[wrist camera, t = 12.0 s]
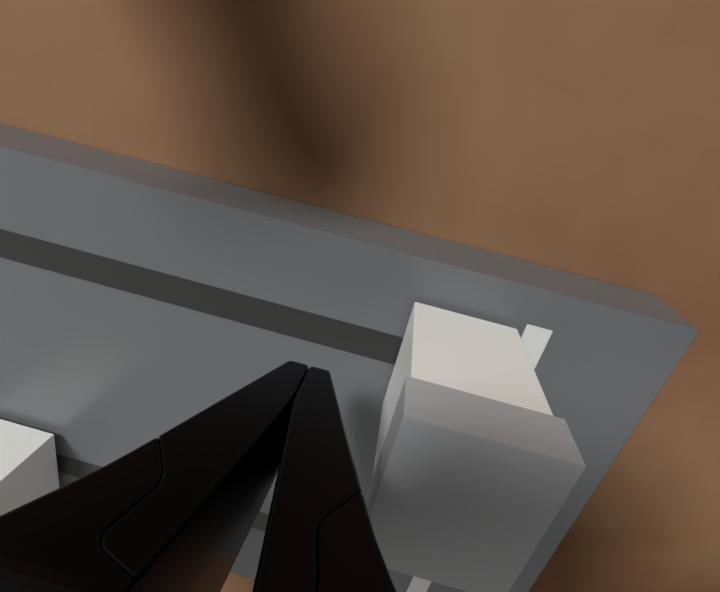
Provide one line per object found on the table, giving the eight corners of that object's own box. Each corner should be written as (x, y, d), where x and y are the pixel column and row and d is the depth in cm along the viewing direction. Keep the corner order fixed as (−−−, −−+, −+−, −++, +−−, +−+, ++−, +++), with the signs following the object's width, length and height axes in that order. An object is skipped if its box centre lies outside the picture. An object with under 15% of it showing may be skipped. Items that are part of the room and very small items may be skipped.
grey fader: (522, 326, 10) (585, 467, 6) (475, 431, 11) (502, 601, 7) (411, 296, 10) (403, 416, 6) (378, 404, 11) (354, 558, 7)
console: (654, 294, 11) (699, 331, 9) (484, 589, 17) (491, 648, 15) (-125, 90, 12) (-224, 87, 10) (-44, 436, 17) (-100, 475, 16)
